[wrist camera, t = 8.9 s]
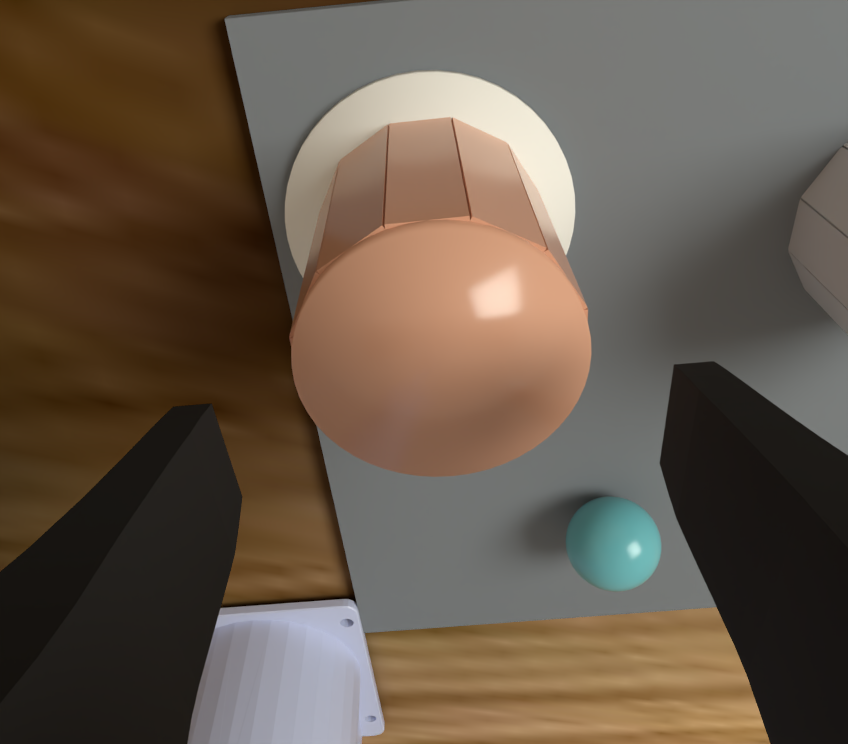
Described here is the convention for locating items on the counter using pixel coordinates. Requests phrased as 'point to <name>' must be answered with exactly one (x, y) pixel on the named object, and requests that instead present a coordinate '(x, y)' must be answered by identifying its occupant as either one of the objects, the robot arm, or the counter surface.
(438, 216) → the peach domed cylinder
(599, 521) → the teal marble
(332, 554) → the counter surface
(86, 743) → the robot arm
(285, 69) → the slate mat
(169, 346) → the counter surface
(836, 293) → the white domed cylinder
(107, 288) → the counter surface
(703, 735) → the counter surface
